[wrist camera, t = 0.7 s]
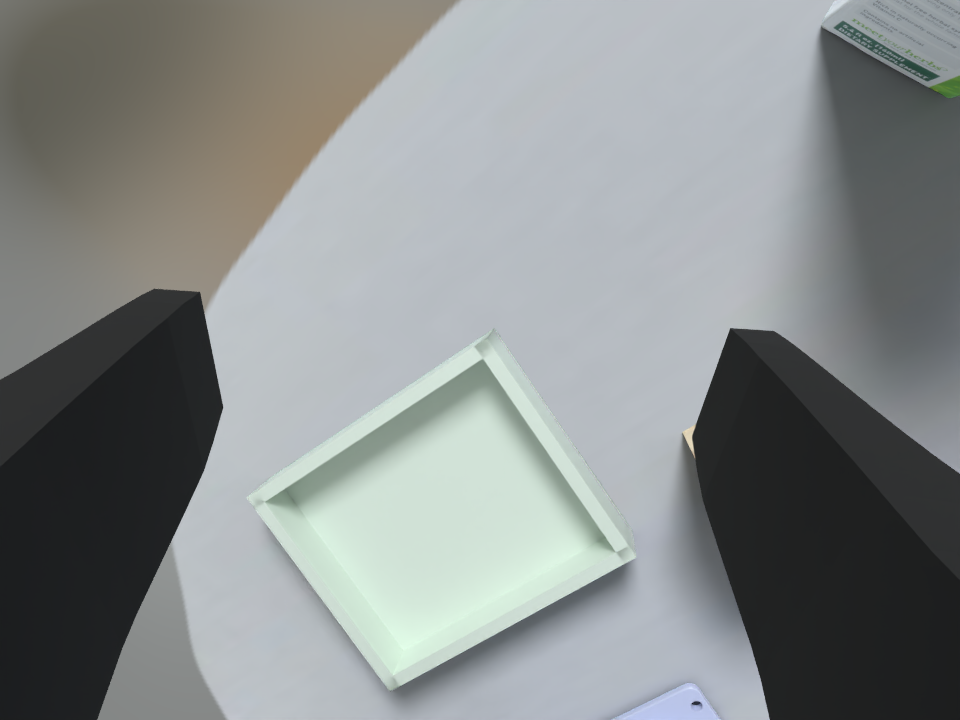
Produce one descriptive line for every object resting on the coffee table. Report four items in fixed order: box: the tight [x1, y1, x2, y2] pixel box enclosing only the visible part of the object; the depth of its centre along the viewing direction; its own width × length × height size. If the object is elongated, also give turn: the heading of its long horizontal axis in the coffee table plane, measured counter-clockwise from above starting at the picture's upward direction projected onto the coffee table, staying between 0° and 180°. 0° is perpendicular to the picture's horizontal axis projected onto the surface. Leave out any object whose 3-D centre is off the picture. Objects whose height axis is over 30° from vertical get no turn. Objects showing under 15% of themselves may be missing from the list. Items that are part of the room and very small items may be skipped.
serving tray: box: [247, 329, 636, 691], centre depth 31 cm, size 11×13×2 cm
